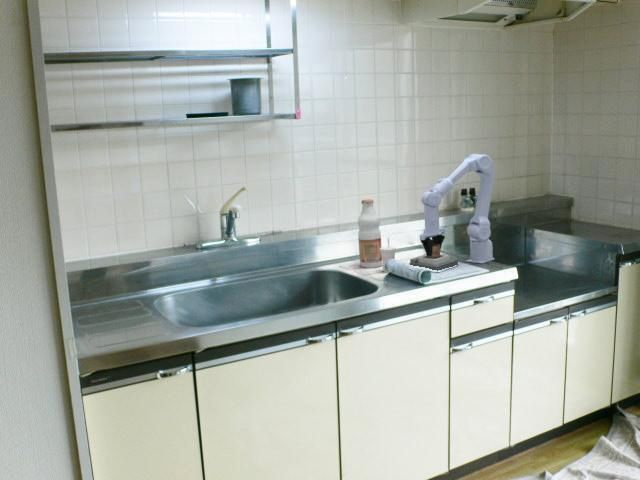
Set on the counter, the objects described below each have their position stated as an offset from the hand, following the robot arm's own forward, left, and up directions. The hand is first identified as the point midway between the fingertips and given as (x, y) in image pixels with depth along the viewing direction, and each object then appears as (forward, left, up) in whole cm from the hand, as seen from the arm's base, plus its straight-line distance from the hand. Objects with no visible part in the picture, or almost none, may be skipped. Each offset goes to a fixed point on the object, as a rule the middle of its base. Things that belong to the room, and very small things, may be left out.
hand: (433, 254), depth 278 cm
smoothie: (+14, -12, -6) cm, 19 cm away
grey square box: (0, 0, -5) cm, 5 cm away
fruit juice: (+10, -25, -6) cm, 28 cm away
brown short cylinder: (0, 0, -2) cm, 2 cm away
